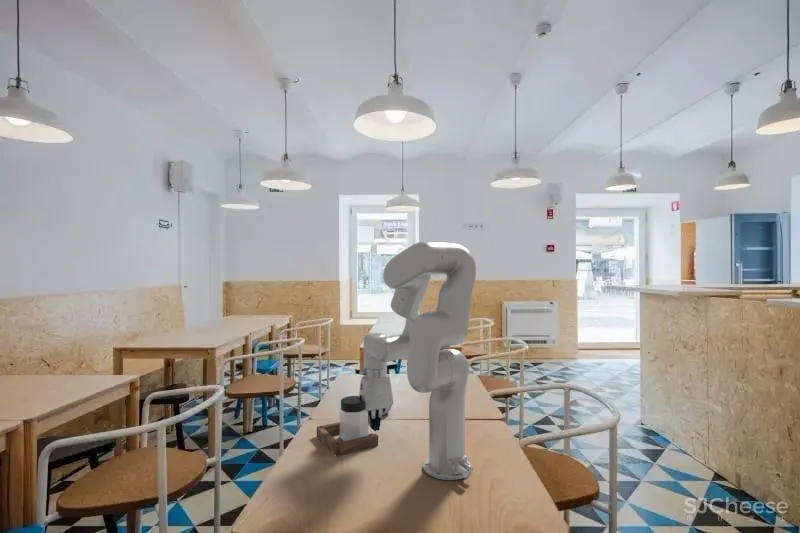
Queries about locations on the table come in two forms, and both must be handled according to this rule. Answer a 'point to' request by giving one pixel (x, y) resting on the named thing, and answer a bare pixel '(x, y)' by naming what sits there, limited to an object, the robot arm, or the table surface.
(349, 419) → the jar
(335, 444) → the walnut bay
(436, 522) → the table surface
